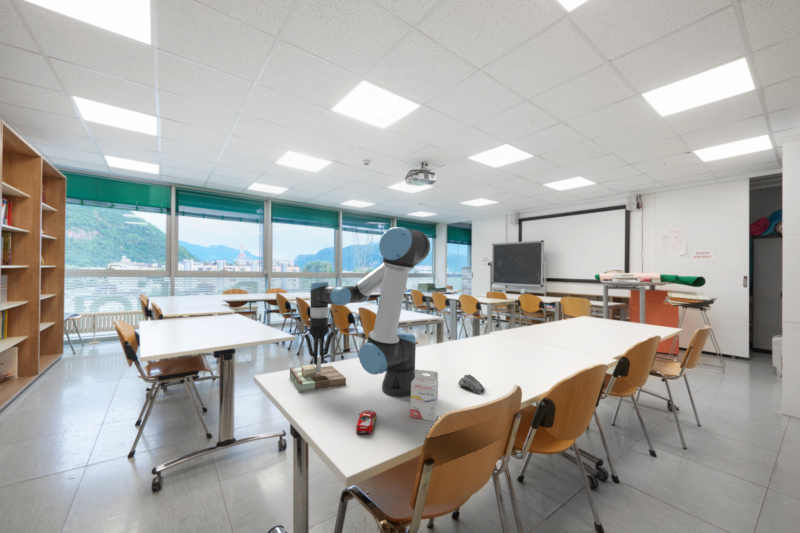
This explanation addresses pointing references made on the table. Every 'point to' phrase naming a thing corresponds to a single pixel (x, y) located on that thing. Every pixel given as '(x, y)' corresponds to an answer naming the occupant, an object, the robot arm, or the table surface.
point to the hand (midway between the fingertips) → (318, 371)
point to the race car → (366, 422)
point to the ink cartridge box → (424, 395)
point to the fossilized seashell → (471, 383)
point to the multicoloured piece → (317, 379)
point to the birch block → (308, 371)
